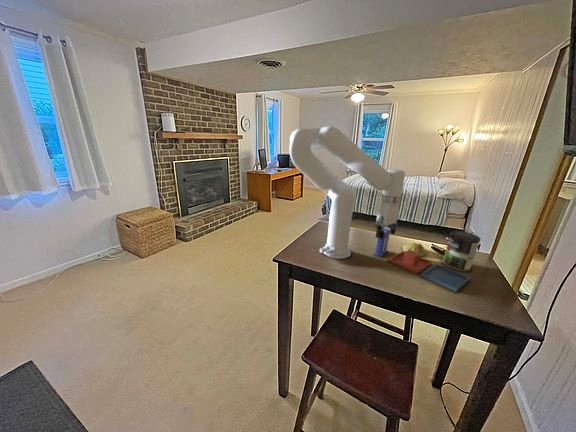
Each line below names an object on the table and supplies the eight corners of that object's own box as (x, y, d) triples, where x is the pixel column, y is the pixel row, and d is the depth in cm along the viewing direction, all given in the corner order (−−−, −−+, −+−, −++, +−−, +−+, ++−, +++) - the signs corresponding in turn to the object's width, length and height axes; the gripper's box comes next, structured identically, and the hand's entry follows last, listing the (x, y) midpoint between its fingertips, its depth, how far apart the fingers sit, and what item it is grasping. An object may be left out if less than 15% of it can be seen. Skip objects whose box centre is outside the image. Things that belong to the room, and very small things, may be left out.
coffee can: (450, 271, 99) (460, 239, 95) (437, 258, 109) (445, 229, 105) (476, 272, 99) (487, 241, 94) (461, 260, 109) (469, 231, 104)
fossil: (406, 234, 119) (429, 239, 114) (404, 243, 122) (426, 249, 117) (401, 247, 111) (426, 253, 106) (399, 257, 114) (423, 263, 109)
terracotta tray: (416, 274, 96) (416, 271, 95) (387, 261, 105) (388, 258, 104) (430, 265, 103) (431, 261, 103) (403, 253, 112) (404, 250, 112)
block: (412, 266, 101) (414, 256, 99) (402, 261, 104) (404, 252, 103) (417, 263, 103) (420, 253, 102) (407, 258, 107) (409, 249, 105)
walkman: (381, 257, 108) (385, 232, 105) (374, 255, 110) (379, 230, 106) (386, 251, 114) (391, 227, 110) (380, 249, 116) (385, 226, 112)
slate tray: (455, 293, 85) (457, 289, 85) (420, 276, 94) (421, 273, 94) (469, 280, 93) (470, 277, 92) (435, 267, 102) (436, 263, 101)
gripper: (393, 194, 111) (388, 228, 117) (371, 200, 101) (366, 237, 107) (409, 197, 106) (403, 233, 111) (387, 204, 96) (381, 243, 101)
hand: (385, 235), depth 109 cm, fingers open, 9 cm apart
